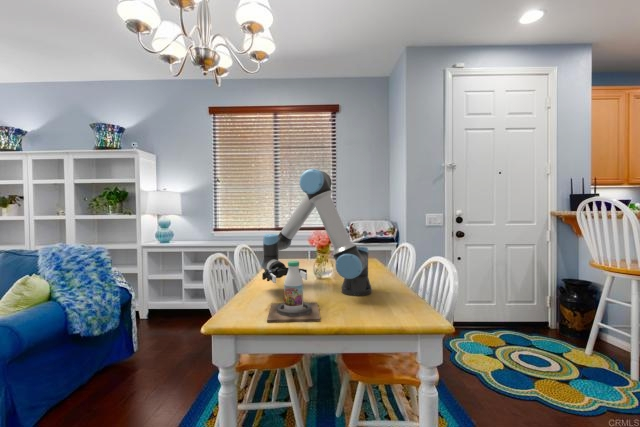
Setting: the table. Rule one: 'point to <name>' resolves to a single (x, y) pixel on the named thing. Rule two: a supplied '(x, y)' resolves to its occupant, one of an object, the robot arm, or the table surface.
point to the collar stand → (293, 313)
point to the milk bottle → (293, 288)
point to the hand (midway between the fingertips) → (291, 278)
